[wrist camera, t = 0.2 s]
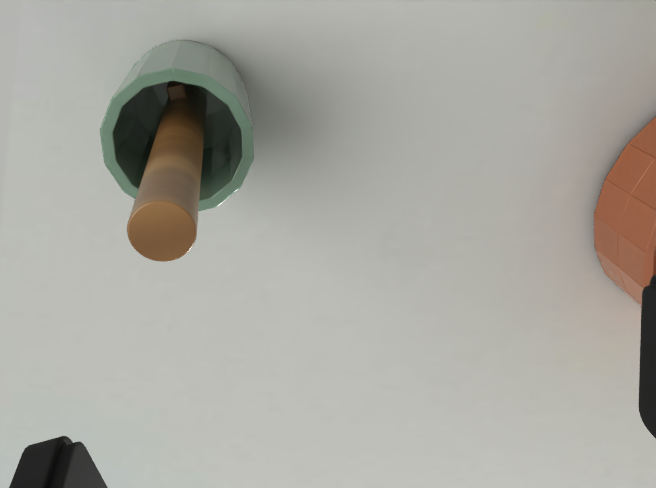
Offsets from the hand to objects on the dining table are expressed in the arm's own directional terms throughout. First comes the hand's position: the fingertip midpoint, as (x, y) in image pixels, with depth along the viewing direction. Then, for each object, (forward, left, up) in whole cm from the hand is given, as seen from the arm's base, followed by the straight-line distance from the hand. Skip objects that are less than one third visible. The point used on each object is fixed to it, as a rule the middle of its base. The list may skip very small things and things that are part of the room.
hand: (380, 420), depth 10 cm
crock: (0, -4, -26) cm, 27 cm away
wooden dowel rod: (0, -4, -26) cm, 26 cm away
